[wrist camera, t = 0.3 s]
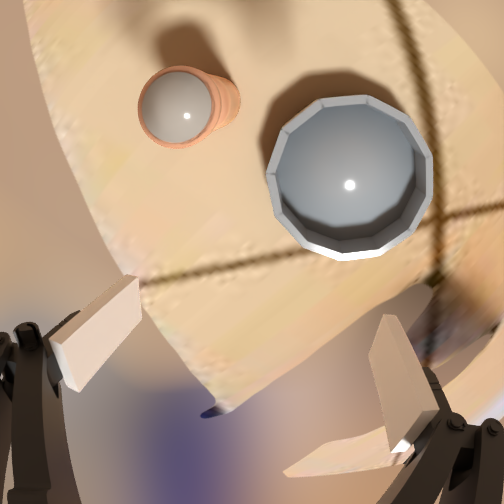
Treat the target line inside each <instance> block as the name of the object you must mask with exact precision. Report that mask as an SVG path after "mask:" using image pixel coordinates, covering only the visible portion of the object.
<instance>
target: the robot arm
mask: <svg viewBox="0 0 504 504" xmlns="http://www.w3.org/2000/svg"><path fill="white" fill-rule="evenodd" d="M141 319H142V313H141V304H140V293H139V281H138V277H137V276H132V275H125V276H124V277H123V278H121V279H120V280H119V281H118V282H117V283H115V284H114V285H113V286H111V287H110V288H109V289H108V290H106V291H105V292H104V293H102V294H101V295H100V296H99V297H98V298H96V299H95V300H94V301H93V302H92V303H90V304H89V305H88V306H87V307H85V308H84V309H83V310H82V311H80V310H79V311H76V312H74V313H72V314H70V315H69V316H67V317H66V318H65V319H64V321H61V322H60V323H59V325H57V326H55V327H54V328H53V329H52V330H51V331H49V333H47V334H46V335H45V336H44V337H42V336H41V333H40V330H39V327H38V325H37V324H36V323H33V322H25V323H22V324H20V325H18V326H17V327H16V328H15V329H14V331H13V333H14V336H15V338H16V341H17V343H13V342H12V341H11V339H10V336H9V335H8V333H6V332H0V376H1V373H2V375H3V379H2V380H1V379H0V504H2V499H3V489H4V480H5V473H6V467H7V461H8V455H9V450H10V445H11V447H12V465H13V476H14V488H13V489H11V490H9V491H8V493H7V500H8V504H81V500H80V497H79V494H78V489H77V486H76V482H75V478H74V474H73V469H72V465H71V460H70V454H69V449H68V443H67V437H66V431H65V423H64V414H63V405H62V393H61V385H60V383H59V381H60V380H61V379H62V378H64V381H65V383H66V385H67V387H69V388H71V389H73V390H75V391H77V392H80V391H81V390H82V389H83V387H84V386H85V385H86V384H87V383H88V381H89V380H90V379H91V378H92V377H93V375H94V374H95V373H96V372H97V371H98V369H99V368H100V367H101V366H102V365H103V363H104V362H105V361H106V360H107V359H108V357H109V356H110V355H111V354H112V353H113V352H114V350H115V349H116V348H117V347H118V346H119V345H120V343H121V342H122V341H123V340H124V339H125V338H126V337H127V335H128V334H129V333H130V332H131V331H132V330H133V329H134V327H135V326H136V325H137V324H138V323H139V322H140V320H141ZM368 357H369V361H370V364H371V368H372V372H373V376H374V380H375V384H376V388H377V392H378V396H379V400H380V405H381V409H382V413H383V418H384V422H385V427H386V432H387V437H388V442H389V447H390V453H394V452H405V451H407V450H408V449H409V448H410V447H411V446H412V444H414V448H415V451H414V452H413V453H412V454H411V456H410V457H409V458H408V459H407V460H406V461H405V462H404V463H403V464H405V465H404V467H403V468H402V470H401V471H400V473H399V474H398V476H397V477H396V479H395V480H394V481H393V483H392V484H391V485H390V487H389V488H388V489H387V491H386V492H385V494H384V495H383V496H382V497H381V499H380V500H379V501H378V502H377V503H376V504H434V503H435V501H436V499H437V497H438V495H439V493H440V492H441V490H442V488H443V490H442V494H441V498H440V502H439V504H501V501H502V493H503V483H504V482H503V481H504V428H503V426H502V424H501V423H500V422H499V421H498V420H496V419H493V418H488V419H486V420H485V421H484V422H483V423H482V424H481V426H476V425H469V424H467V422H466V420H465V419H464V418H463V417H462V416H461V415H460V414H457V413H454V412H452V410H451V408H450V406H449V403H448V401H447V399H446V397H445V394H444V392H443V390H442V388H441V386H440V384H439V381H438V379H437V377H436V375H435V374H434V373H433V372H432V371H431V370H430V369H429V367H421V365H420V363H419V361H418V358H417V356H416V354H415V352H414V350H413V348H412V346H411V344H410V342H409V340H408V338H407V336H406V334H405V332H404V330H403V328H402V326H401V324H400V322H399V320H398V318H397V316H396V315H388V314H383V316H382V319H381V322H380V325H379V328H378V330H377V333H376V336H375V339H374V341H373V344H372V346H371V349H370V351H369V354H368Z"/></svg>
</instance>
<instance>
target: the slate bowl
mask: <svg viewBox="0 0 504 504" xmlns="http://www.w3.org/2000/svg"><path fill="white" fill-rule="evenodd" d="M266 178H267V183H268V188H269V192H270V197H271V202H272V206H273V211H274V216H275V217H276V219H277V220H278V221H279V222H280V223H281V224H282V225H283V226H284V227H285V228H286V230H287V231H288V232H289V233H290V234H291V235H292V236H293V237H294V238H295V240H296V241H297V242H298V243H299V244H300V245H301V246H302V247H303V248H306V249H308V250H311V251H314V252H317V253H320V254H323V255H325V256H328V257H331V258H334V259H336V260H339V261H340V260H341V261H344V260H352V259H360V258H368V257H375V256H380V255H382V254H384V253H385V252H387V251H388V250H390V249H391V248H393V247H394V246H396V245H397V244H399V243H400V242H402V241H403V240H405V239H406V238H408V237H409V236H410V235H412V234H413V233H414V231H415V230H416V228H417V226H418V224H419V223H420V221H421V219H422V217H423V215H424V213H425V212H426V210H427V208H428V206H429V204H430V202H431V200H432V197H433V156H432V153H431V152H430V150H429V148H428V146H427V144H426V143H425V141H424V139H423V137H422V136H421V134H420V132H419V131H418V129H417V127H416V126H415V124H414V123H413V121H412V119H411V118H410V117H409V116H408V115H406V114H404V113H402V112H401V111H399V110H397V109H395V108H393V107H391V106H390V105H388V104H386V103H384V102H382V101H380V100H378V99H376V98H374V97H372V96H370V95H349V96H337V97H328V98H319V99H316V100H314V101H313V102H312V103H310V104H309V105H308V106H307V107H305V108H304V109H302V110H301V111H300V112H298V113H297V114H296V115H295V116H294V117H293V118H291V119H290V120H289V121H288V122H286V123H285V124H284V125H283V126H282V128H281V130H280V133H279V136H278V139H277V142H276V145H275V147H274V150H273V153H272V156H271V159H270V162H269V164H268V167H267V170H266Z"/></svg>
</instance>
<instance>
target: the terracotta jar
mask: <svg viewBox="0 0 504 504" xmlns="http://www.w3.org/2000/svg"><path fill="white" fill-rule="evenodd" d="M240 103H241V101H240V95H239V92H238V90H237V88H236V86H235V85H234V84H233V83H232V82H231V81H229V80H228V79H225V78H223V77H219V76H215V75H211V74H207V73H205V72H203V71H202V70H199V69H197V68H193V67H189V66H172V67H168V68H165V69H163V70H161V71H159V72H158V73H156V74H155V75H154V76H152V77H151V78H150V79H149V80H148V82H147V83H146V84H145V86H144V88H143V89H142V92H141V94H140V97H139V101H138V117H139V121H140V124H141V126H142V128H143V130H144V131H145V133H146V134H147V135H148V137H149V138H150V139H152V140H153V141H154V142H156V143H157V144H159V145H161V146H164V147H167V148H173V149H179V148H186V147H189V146H192V145H194V144H196V143H198V142H200V141H202V140H203V139H205V138H206V137H207V136H208V135H209V134H210V133H211V132H213V131H215V130H217V129H219V128H221V127H224V126H226V125H227V124H229V123H230V122H232V121H233V119H234V118H235V117H236V116H237V114H238V112H239V109H240Z"/></svg>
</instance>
